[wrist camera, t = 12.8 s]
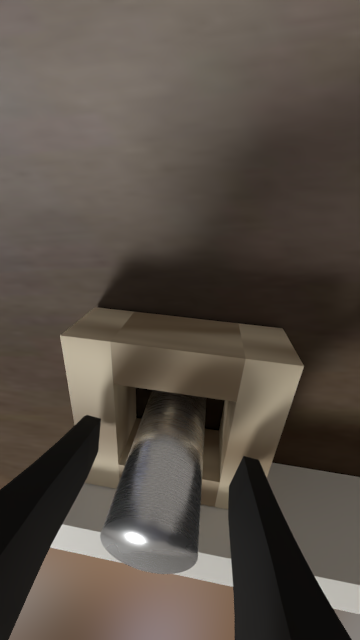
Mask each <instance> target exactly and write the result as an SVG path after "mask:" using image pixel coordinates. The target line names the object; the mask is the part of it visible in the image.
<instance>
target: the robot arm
mask: <svg viewBox="0 0 360 640" xmlns="http://www.w3.org/2000/svg"><path fill="white" fill-rule="evenodd" d="M100 425H101V418H97V417H93V416H89V415H85V416H84V417H83V418H82V419H81V420H80V421H79V422H78V423H77V424H76V425H75V426H74V427H73V428H72V429H71V430H70V431H69V432H68V433H67V434H65V435H64V436H63V437H62V438H61V439H60V440H59V441H58V442H57V443H56V444H55V445H54V446H52V447H51V448H50V449H49V450H48V451H47V452H46V453H44V454H43V455H42V456H41V457H40V458H39V459H38V460H36V461H35V462H34V463H33V464H32V465H30V466H29V467H28V468H27V469H26V470H24V471H23V472H22V473H21V474H19V475H18V476H17V477H16V478H14V479H13V480H12V481H11V482H10V483H8V484H7V485H6V486H4V487H3V488H2V489H0V640H8V639H9V637H10V635H11V632H12V630H13V628H14V626H15V623H16V621H17V619H18V616H19V614H20V612H21V610H22V607H23V605H24V603H25V601H26V598H27V596H28V594H29V592H30V589H31V587H32V585H33V583H34V580H35V578H36V576H37V574H38V572H39V569H40V567H41V565H42V563H43V561H44V558H45V556H46V554H47V552H48V550H49V548H50V546H51V544H52V542H53V541H54V539H55V537H56V535H57V533H58V531H59V529H60V528H61V526H62V524H63V522H64V520H65V518H66V516H67V515H68V513H69V511H70V509H71V507H72V505H73V503H74V502H75V500H76V498H77V496H78V494H79V492H80V490H81V488H82V487H83V485H84V483H85V481H86V479H87V477H88V475H89V472H90V470H91V468H92V465H93V463H94V460H95V458H96V456H97V453H98V449H99V437H100ZM228 521H229V536H230V550H231V564H232V577H233V590H234V610H235V640H351V638H350V636H349V635H348V633H347V632H346V630H345V628H344V626H343V625H342V623H341V621H340V620H339V619H338V617H337V615H336V613H335V611H334V610H333V608H332V606H331V605H330V603H329V601H328V599H327V598H326V596H325V594H324V593H323V591H322V589H321V587H320V585H319V584H318V582H317V580H316V578H315V576H314V575H313V573H312V571H311V569H310V567H309V565H308V563H307V561H306V560H305V558H304V556H303V554H302V552H301V550H300V548H299V546H298V544H297V542H296V540H295V538H294V536H293V534H292V532H291V530H290V528H289V526H288V524H287V522H286V520H285V517H284V515H283V513H282V511H281V509H280V507H279V505H278V503H277V500H276V498H275V496H274V494H273V491H272V489H271V487H270V484H269V482H268V480H267V478H266V475H265V473H264V470H263V468H262V466H261V463H260V461H259V460H258V459H254V458H250V457H246V456H243V458H242V460H241V462H240V464H239V466H238V468H237V470H236V472H235V475H234V477H233V479H232V481H231V483H230V485H229V500H228Z"/></svg>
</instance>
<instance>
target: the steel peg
mask: <svg viewBox="0 0 360 640" xmlns="http://www.w3.org/2000/svg"><path fill="white" fill-rule="evenodd" d="M205 413H206V397H199V396H192V395H185V394H178V393H171V392H164V391H157V390H152V391H151V394H150V397H149V399H148V402H147V405H146V408H145V411H144V413H143V416H142V419H141V422H140V424H139V427H138V430H137V433H136V436H135V438H134V441H133V444H132V447H131V450H130V452H129V455H128V458H127V461H126V464H125V466H124V469H123V472H122V475H121V478H120V480H119V483H118V486H117V489H116V492H115V494H114V497H113V500H112V503H111V506H110V508H109V511H108V514H107V517H106V519H105V522H104V525H103V528H102V531H101V534H100V539H101V542H102V545H103V546H104V548H105V549H106V550H107V551H108V552H109V553H110V554H111V555H112V556H113V557H115V558H116V559H117V560H119V561H121V562H122V563H124V564H126V565H128V566H131V567H133V568H136V569H139V570H142V571H146V572H151V573H158V574H174V573H180V572H184V571H186V570H188V569H190V568H192V567H193V566H194V565H195V564H196V562H197V559H198V545H199V526H200V507H201V489H202V470H203V451H204V432H205Z"/></svg>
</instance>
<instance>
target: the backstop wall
mask: <svg viewBox="0 0 360 640" xmlns="http://www.w3.org/2000/svg"><path fill="white" fill-rule="evenodd" d="M267 480H268V482H269V484H270V487H271V489H272V491H273V494H274V496H275V498H276V500H277V503H278V505H279V507H280V509H281V511H282V513H283V515H284V517H285V520H286V522H287V524H288V526H289V528H290V530H291V532H292V534H293V536H294V538H295V540H296V542H297V544H298V546H299V548H300V550H301V552H302V554H303V556H304V558H305V560H306V561H307V563H308V565H309V567H310V569H311V571H312V573H313V575H314V576H315V578H316V580H317V582H318V584H319V585H320V587H321V589H322V591H323V593H324V594H325V596H326V598H327V599H328V601H329V603H330V605H331V606H332V608H334V609H338V610H343V611H348V612H353V613H357V614H360V477H356V476H350V475H344V474H338V473H332V472H326V471H320V470H314V469H308V468H302V467H296V466H290V465H283V464H277V463H272V464H271V467H270V470H269V473H268V476H267ZM115 492H116V489H115V488H110V487H104V486H99V485H93V484H88V483H84V485H83V487H82V488H81V490H80V492H79V494H78V496H77V498H76V500H75V502H74V503H73V505H72V507H71V509H70V511H69V513H68V515H67V516H66V518H65V520H64V522H63V524H62V526H61V528H60V529H59V531H58V533H57V535H56V537H55V539H54V541H53V542H52V544H51V546H50V547H51V548H55V549H60V550H65V551H69V552H74V553H79V554H83V555H88V556H92V557H97V558H102V559H106V560H111V561H116V562H120V563H122V562H121V561H119V560H117V559H116V558H115V557H113V556H112V555H111V554H110V553H109V552H108V551H107V550H106V549H105V548H104V546H103V545H102V542H101V539H100V534H101V531H102V528H103V525H104V522H105V519H106V517H107V514H108V511H109V508H110V506H111V503H112V500H113V497H114V494H115ZM174 574H176V575H181V576H186V577H190V578H195V579H199V580H204V581H208V582H213V583H218V584H222V585H227V586H232V587H233V577H232V564H231V550H230V536H229V521H228V509H223V508H217V507H212V506H206V505H201V507H200V526H199V545H198V559H197V562H196V564H195V565H194V566H193V567H192V568H190V569H188V570H186V571H184V572H180V573H174Z"/></svg>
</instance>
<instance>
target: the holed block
mask: <svg viewBox="0 0 360 640" xmlns="http://www.w3.org/2000/svg"><path fill="white" fill-rule="evenodd" d="M60 338H61V344H62V350H63V356H64V362H65V369H66V375H67V381H68V387H69V393H70V399H71V406H72V412H73V418H74V424H75V425H76V424H77V423H78V422H79V421H80V420H81V419H82V418H83V417H84V416H85V415H89V416H93V417H97V418H101V425H100V437H99V449H98V453H97V456H96V458H95V460H94V463H93V465H92V468H91V470H90V472H89V475H88V477H87V479H86V481H85V483H88V484H93V485H99V486H104V487H110V488H115V489H117V486H118V483H119V480H120V478H121V475H122V472H123V469H124V466H125V464H126V461H127V458H128V455H129V452H130V450H131V447H132V444H133V441H134V438H135V436H136V433H137V430H138V427H139V424H140V422H141V419H140V418H136V388H143V389H150V390H157V391H164V392H171V393H178V394H185V395H192V396H199V397H206V398H213V399H220V400H225V401H224V407H223V412H222V418H221V423H220V429H219V431H217V430H211V429H205V432H204V451H203V470H202V489H201V505H206V506H212V507H217V508H223V509H228V500H229V485H230V483H231V481H232V479H233V477H234V475H235V472H236V470H237V468H238V466H239V464H240V462H241V460H242V458H243V456H246V457H250V458H254V459H258V460H259V461H260V463H261V466H262V468H263V470H264V473H265V475H266V478H267V476H268V473H269V470H270V467H271V464H272V461H273V458H274V455H275V452H276V449H277V446H278V443H279V440H280V437H281V434H282V431H283V428H284V425H285V422H286V419H287V416H288V413H289V410H290V407H291V404H292V401H293V398H294V395H295V392H296V389H297V386H298V383H299V380H300V377H301V374H302V371H303V368H304V365H303V363H302V362H301V360H300V358H299V356H298V355H297V353H296V351H295V349H294V348H293V346H292V344H291V342H290V340H289V339H288V337H287V335H286V333H285V332H284V330H283V328H275V327H266V326H257V325H248V324H240V323H231V322H222V321H213V320H204V319H195V318H186V317H178V316H169V315H160V314H151V313H142V312H133V311H124V310H116V309H107V308H98V307H95V308H94V309H92V310H91V311H90V312H89V313H87V314H86V315H85V316H84V317H82V318H81V319H80V320H79V321H77V322H76V323H75V324H74V325H72V326H71V327H70V328H69V329H68V330H66V331H65V332H64V333H63V334H61V335H60Z"/></svg>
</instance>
